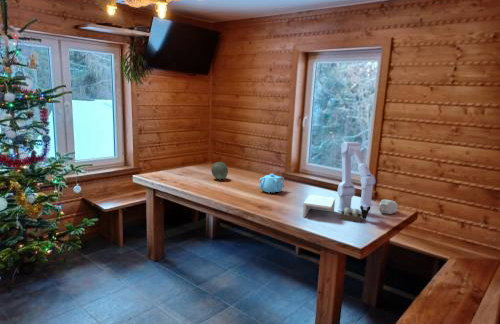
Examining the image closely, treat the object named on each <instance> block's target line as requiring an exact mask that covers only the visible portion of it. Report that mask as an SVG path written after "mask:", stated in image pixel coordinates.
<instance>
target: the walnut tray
mask: <svg viewBox="0 0 500 324" xmlns="http://www.w3.org/2000/svg"><path fill="white" fill-rule="evenodd" d="M339 220H341V221H347V222H354V223H355V222H356V223H362V212H359V208H358V209H357V208H352V211H351V212H350V208H344V211H340V214H339Z"/></svg>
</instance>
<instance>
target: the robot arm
mask: <svg viewBox="0 0 500 324" xmlns="http://www.w3.org/2000/svg"><path fill="white" fill-rule="evenodd" d="M340 146H341V147H340V148H341V151H340V152H341V182H340V183H339V184H338V185H337V186H338V187H337V191H336V193H337V195H338V197H339V203H338V208H337V212H341V211H344V208H350V212H352V210H353V208H352V199H353V197H354V195H355V194H356V189H355V184H354V183H353V182H352V164H351V163H352V161H351V160H352V159H351V158H352V156H353V158H354V160H355V162H356V163H357V171H358V173H359V176H360V185H361V186H360V187H361V196H360V205H359V208H360V211H361V212H360V213H362V219H363V220H366V219H367V218H368V214H369V212H370V210H371V207H372V206H374V203H372V197H373V196H372V195H373V189H374V188H373V187H374V185H376V182H377V181H376V177H375V175H373V173H371V171H370V169H369V166H368V165H367V164H366V163H365V162H364V159H363V156H362V152H361V150H362V146H361V144H360V142H359V141H344V142H343V143H342V144H341V145H340Z"/></svg>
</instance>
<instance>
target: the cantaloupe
mask: <svg viewBox="0 0 500 324" xmlns="http://www.w3.org/2000/svg"><path fill="white" fill-rule="evenodd" d="M210 170H211V175H212V176H213V177H214V178H215V179H217V180H218V179H219V181H222V180H221V179H223V180H225V179H226V178H227V176H228V173H229V167H228V166H227V164H226V163H225V162H222V161H216V162H214V163H213V164H212V166H211V169H210Z"/></svg>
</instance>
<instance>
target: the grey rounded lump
mask: <svg viewBox="0 0 500 324" xmlns="http://www.w3.org/2000/svg"><path fill="white" fill-rule="evenodd" d="M398 206H399V204H398V203H397V201H394V200H392V199H391V200H390V199H381V201H379V204H378V211H379V212H380V214H385V215H392V214H395V213H397V211H398V209H399V207H398Z"/></svg>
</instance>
